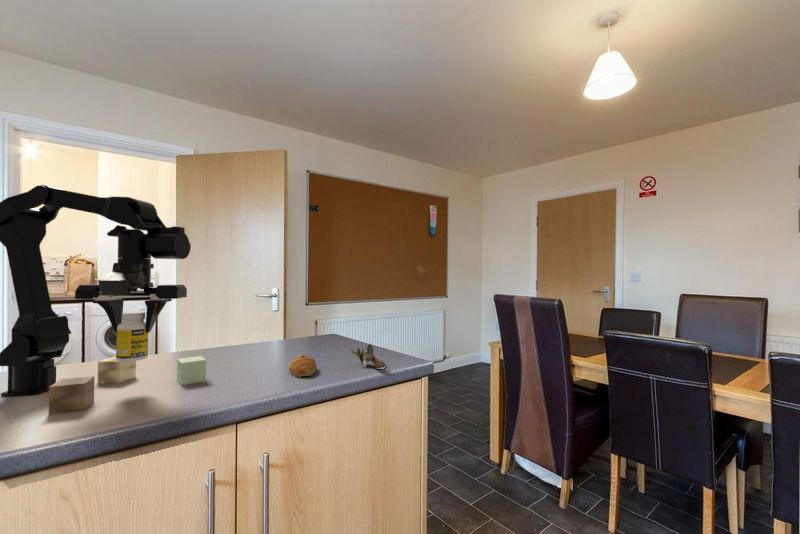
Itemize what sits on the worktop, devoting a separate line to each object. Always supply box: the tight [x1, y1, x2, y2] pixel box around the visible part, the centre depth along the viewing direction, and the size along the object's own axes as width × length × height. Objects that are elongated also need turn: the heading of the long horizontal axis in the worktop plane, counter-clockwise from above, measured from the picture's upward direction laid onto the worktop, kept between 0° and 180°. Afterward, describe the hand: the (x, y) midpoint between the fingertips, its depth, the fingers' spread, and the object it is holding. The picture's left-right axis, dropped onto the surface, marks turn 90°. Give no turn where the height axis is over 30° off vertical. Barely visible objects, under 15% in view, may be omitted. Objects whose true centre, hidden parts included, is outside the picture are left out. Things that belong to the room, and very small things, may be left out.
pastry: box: [288, 354, 318, 378], centre depth 92 cm, size 9×7×4 cm
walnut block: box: [48, 376, 95, 416], centre depth 68 cm, size 5×5×5 cm
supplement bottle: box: [115, 311, 150, 362], centre depth 77 cm, size 5×5×10 cm
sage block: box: [176, 355, 207, 386], centre depth 85 cm, size 5×5×5 cm
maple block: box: [97, 355, 137, 384], centre depth 85 cm, size 5×5×5 cm
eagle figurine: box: [350, 343, 387, 369], centre depth 99 cm, size 8×7×9 cm
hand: (133, 332), depth 77 cm, fingers closed on supplement bottle, 5 cm apart
